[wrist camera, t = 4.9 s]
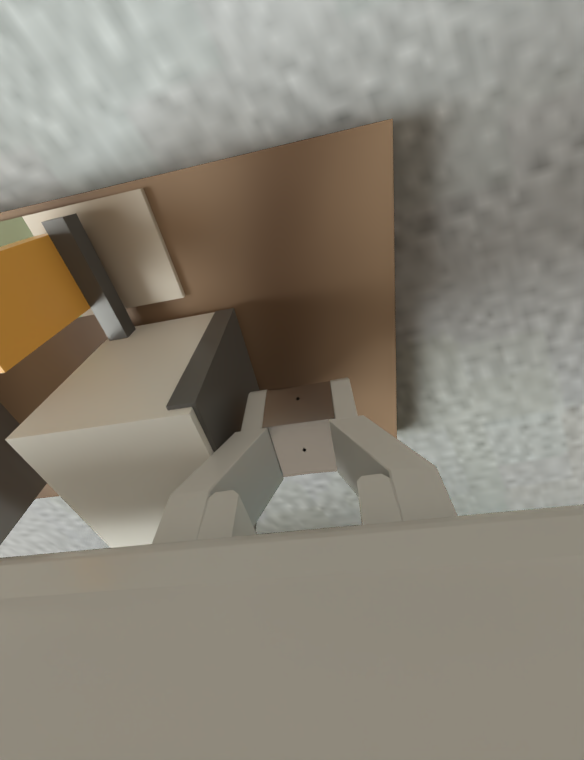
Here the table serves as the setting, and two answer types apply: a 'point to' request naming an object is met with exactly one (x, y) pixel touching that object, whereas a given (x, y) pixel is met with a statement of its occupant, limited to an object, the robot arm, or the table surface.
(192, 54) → the table surface
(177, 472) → the cream block with knob
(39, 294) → the block
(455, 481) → the table surface
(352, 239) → the bench
